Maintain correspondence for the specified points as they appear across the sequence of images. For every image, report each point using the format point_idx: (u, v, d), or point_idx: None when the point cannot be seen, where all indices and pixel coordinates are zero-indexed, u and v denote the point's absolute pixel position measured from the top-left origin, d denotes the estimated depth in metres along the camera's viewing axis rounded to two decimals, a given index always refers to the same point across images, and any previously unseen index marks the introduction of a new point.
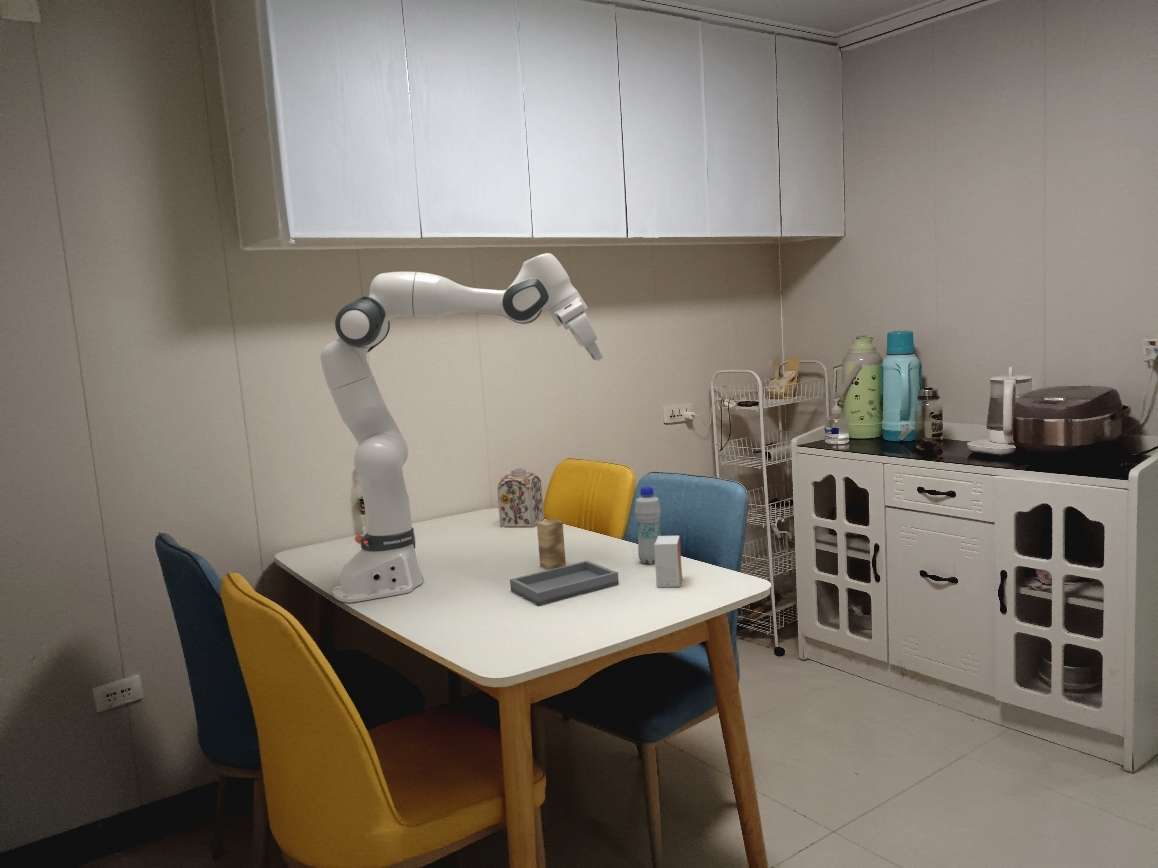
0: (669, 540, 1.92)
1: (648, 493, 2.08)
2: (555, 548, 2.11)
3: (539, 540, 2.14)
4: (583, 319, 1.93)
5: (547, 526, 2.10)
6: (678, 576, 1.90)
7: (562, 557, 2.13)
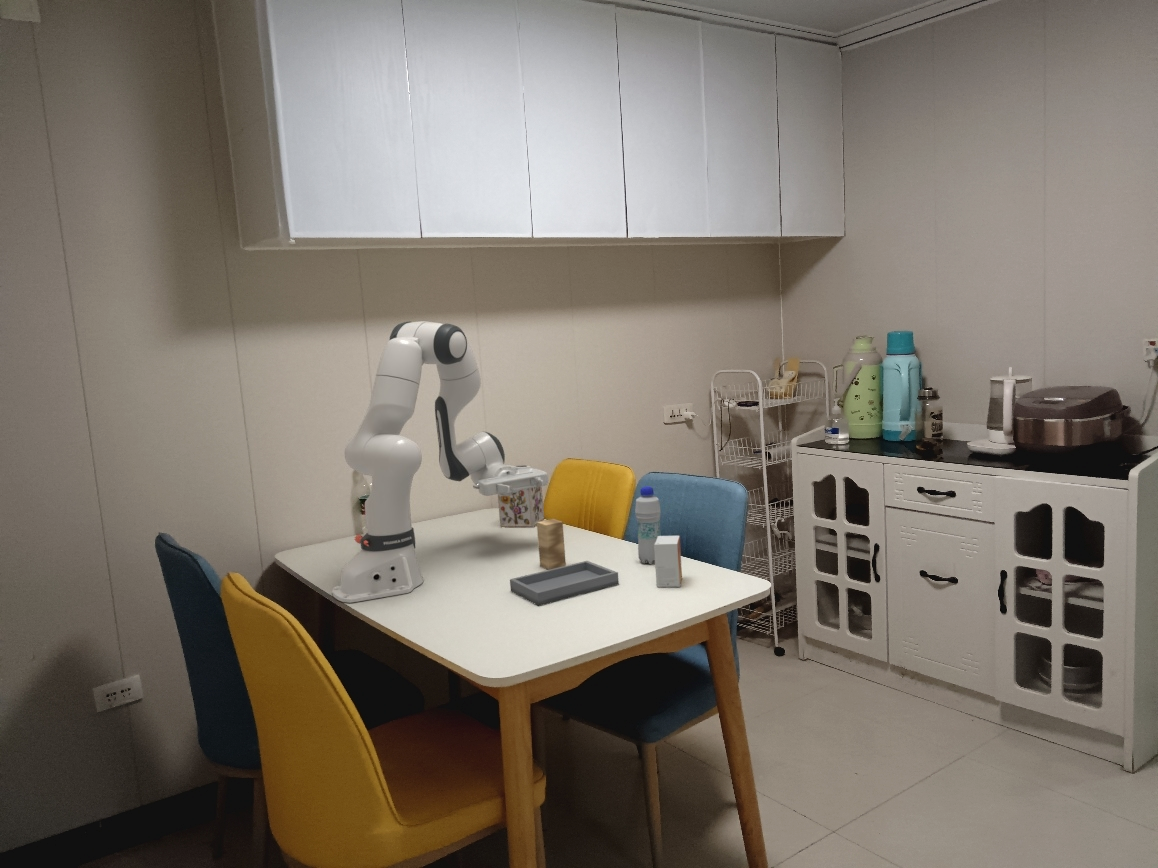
0: (669, 540, 1.92)
1: (648, 493, 2.08)
2: (555, 548, 2.11)
3: (539, 540, 2.14)
4: None
5: (547, 526, 2.10)
6: (678, 576, 1.90)
7: (562, 557, 2.13)
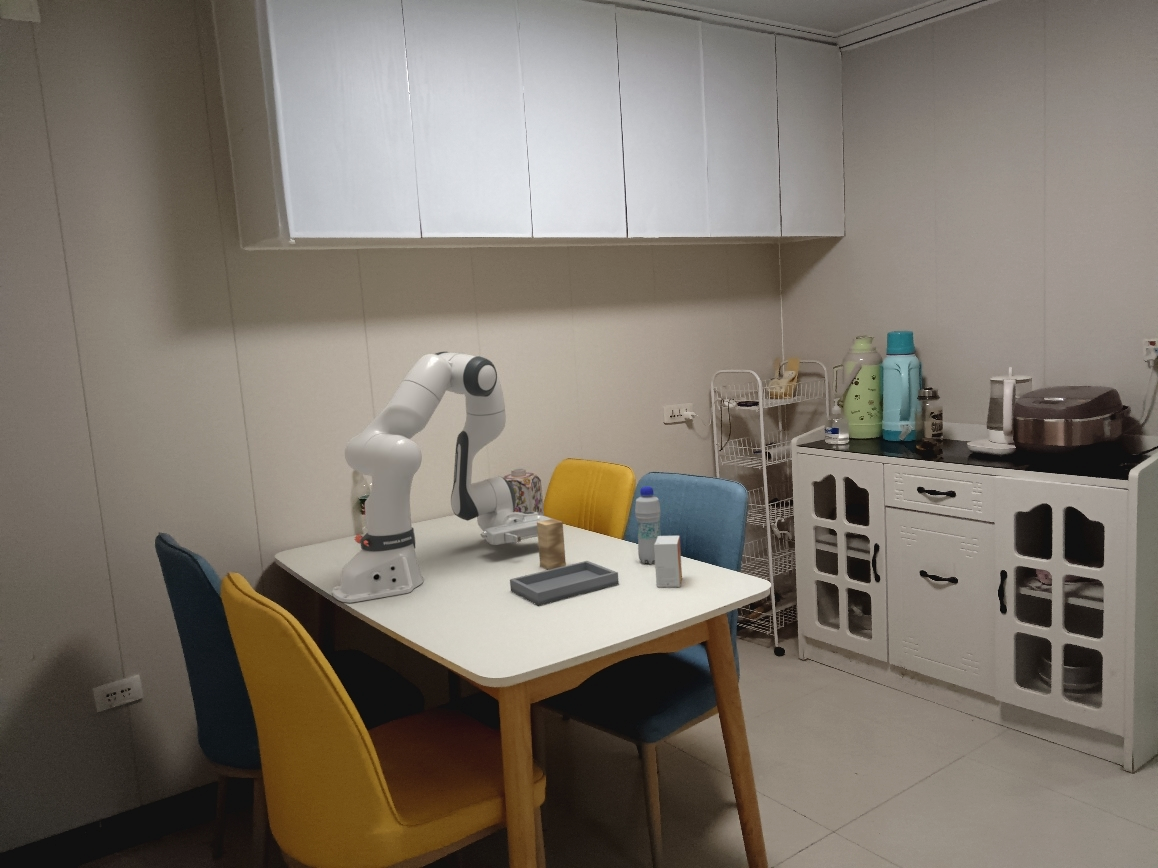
0: (669, 540, 1.92)
1: (648, 493, 2.08)
2: (555, 548, 2.11)
3: (539, 540, 2.14)
4: None
5: (547, 526, 2.10)
6: (678, 576, 1.90)
7: (562, 557, 2.13)
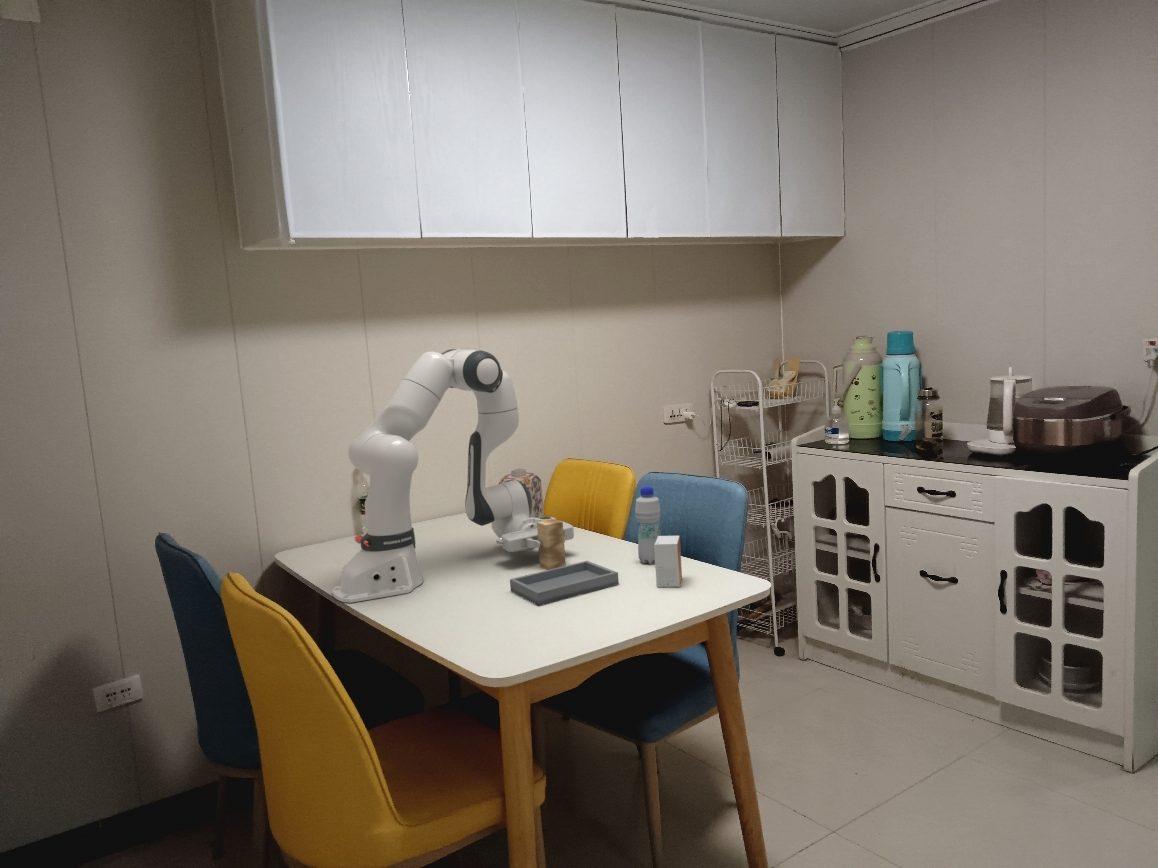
0: (669, 540, 1.92)
1: (648, 493, 2.08)
2: (555, 548, 2.11)
3: None
4: None
5: (547, 526, 2.10)
6: (678, 576, 1.90)
7: (562, 557, 2.13)
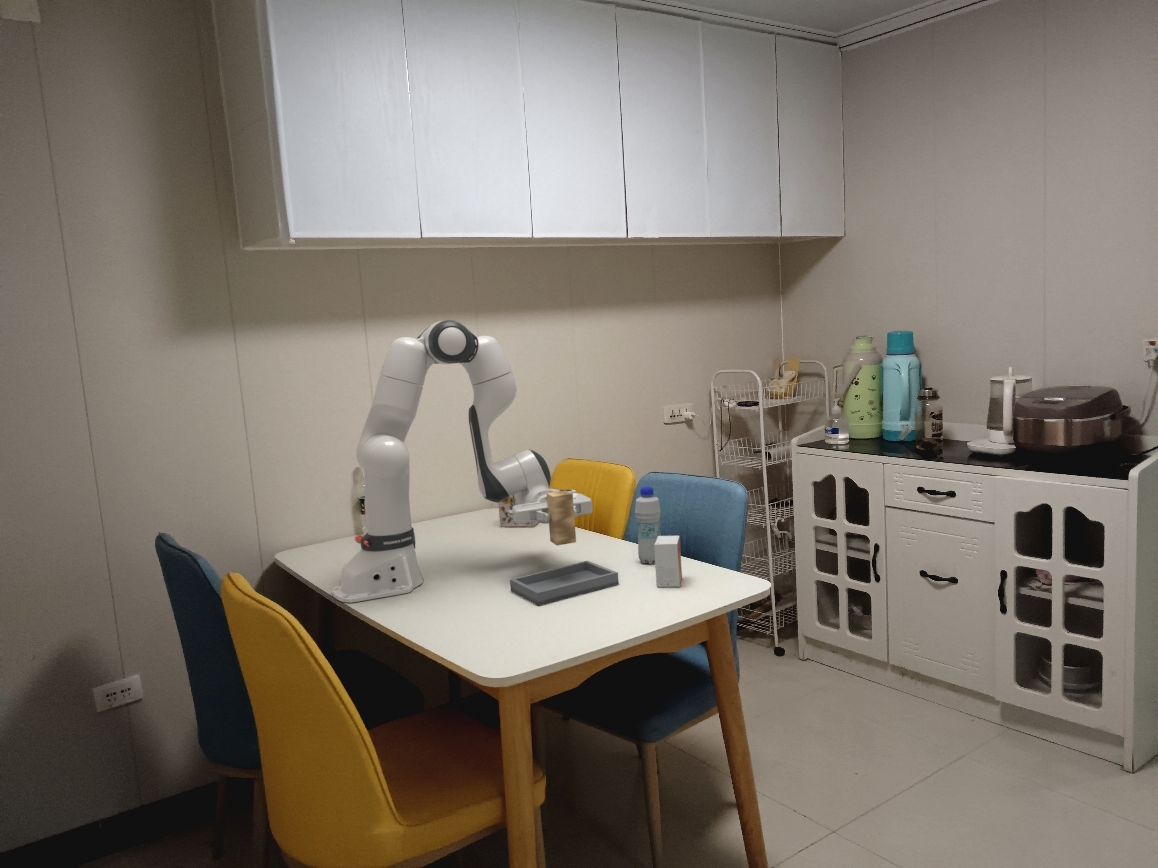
0: (669, 540, 1.92)
1: (648, 493, 2.08)
2: (563, 522, 1.95)
3: None
4: None
5: (554, 498, 1.94)
6: (678, 576, 1.90)
7: (572, 532, 1.96)
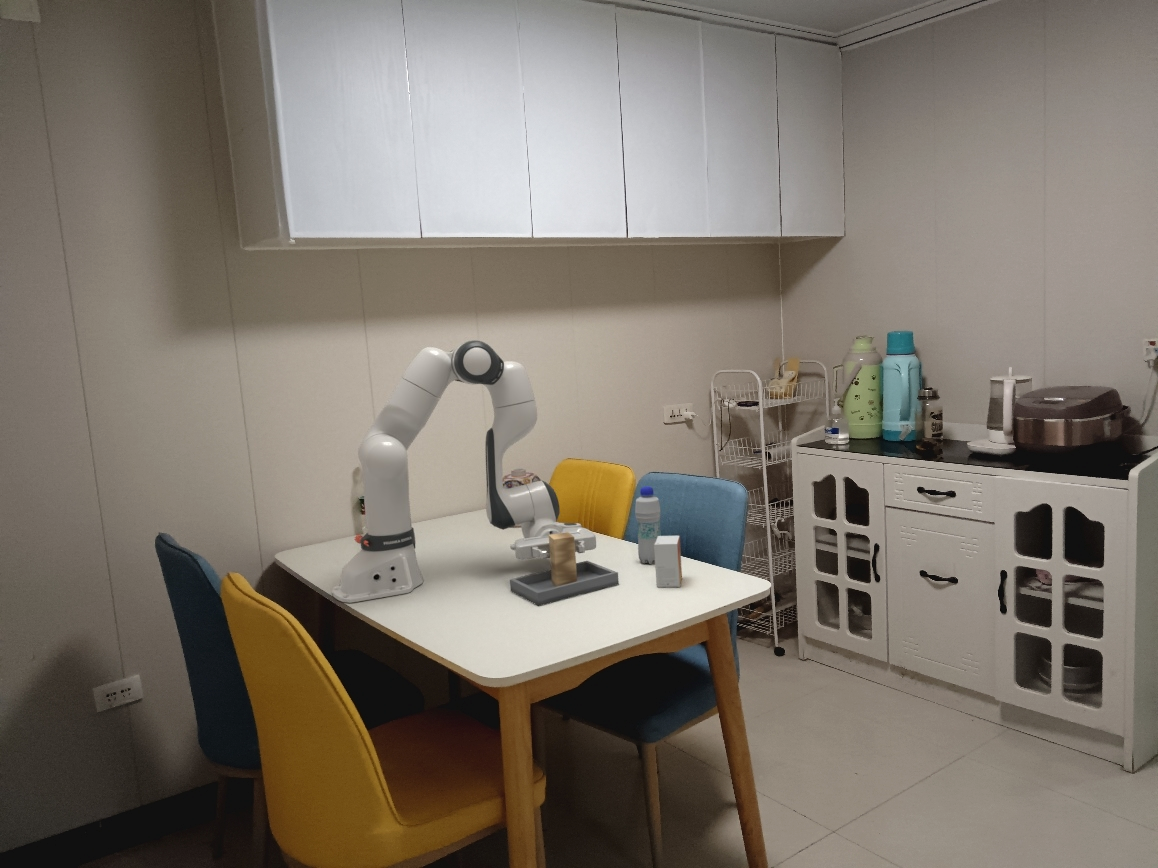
0: (669, 540, 1.92)
1: (648, 493, 2.08)
2: (564, 565, 1.92)
3: (550, 555, 1.95)
4: None
5: (555, 540, 1.90)
6: (678, 576, 1.90)
7: (573, 575, 1.93)
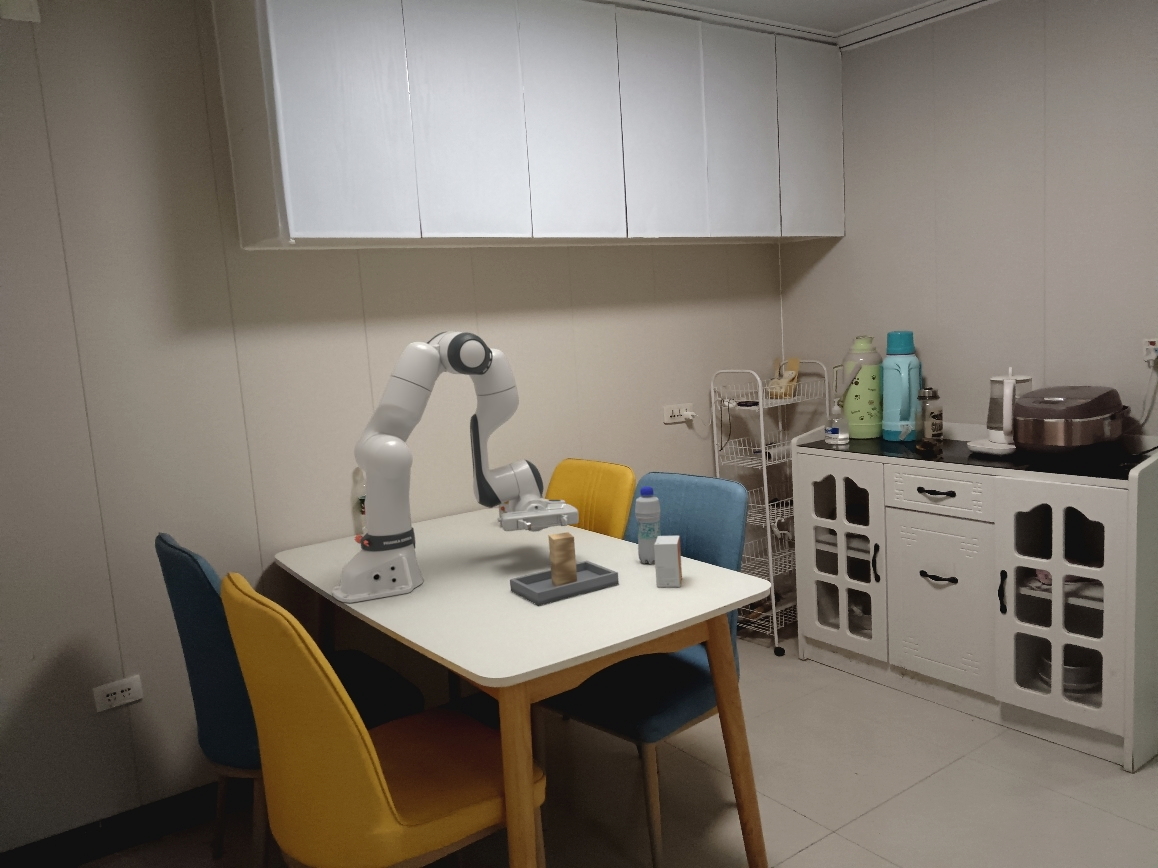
0: (669, 540, 1.92)
1: (648, 493, 2.08)
2: (564, 565, 1.92)
3: (550, 555, 1.95)
4: None
5: (555, 541, 1.90)
6: (678, 576, 1.90)
7: (573, 575, 1.93)
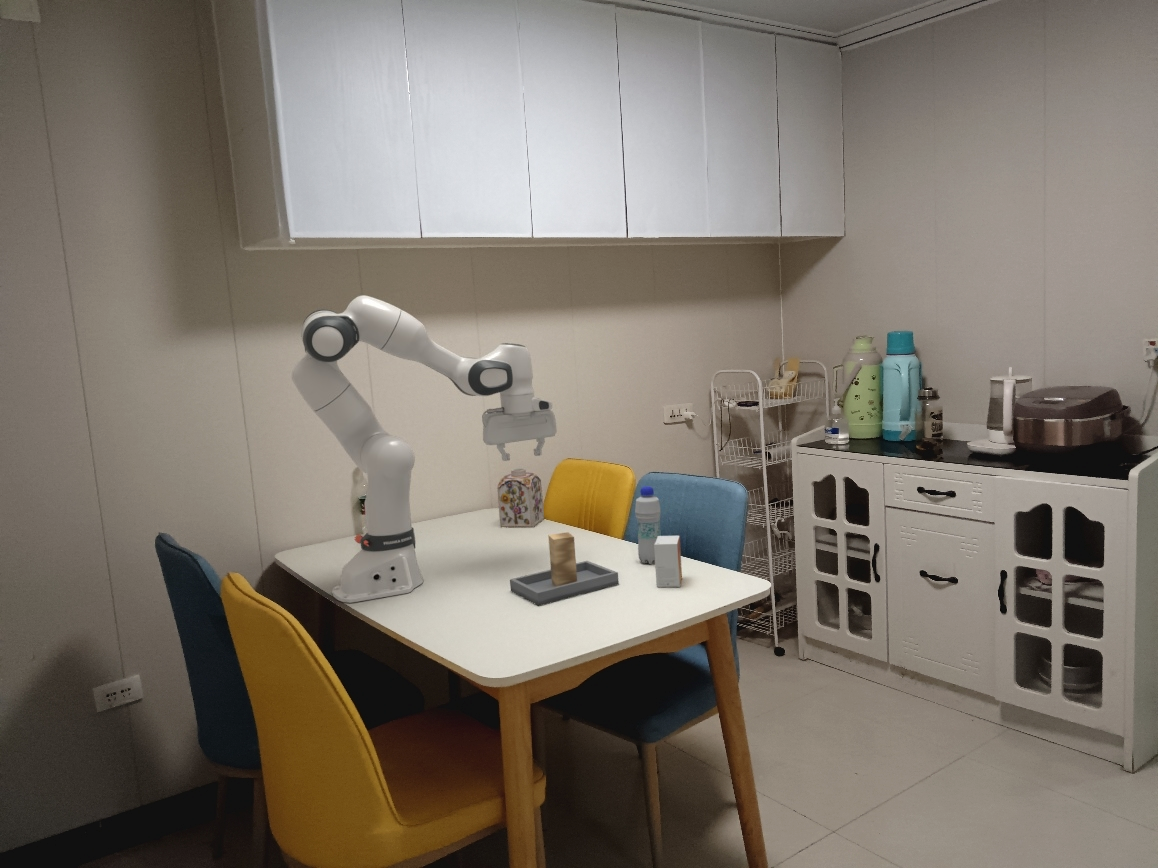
0: (669, 540, 1.92)
1: (648, 493, 2.08)
2: (564, 565, 1.92)
3: (550, 555, 1.95)
4: None
5: (555, 541, 1.90)
6: (678, 576, 1.90)
7: (573, 575, 1.93)
